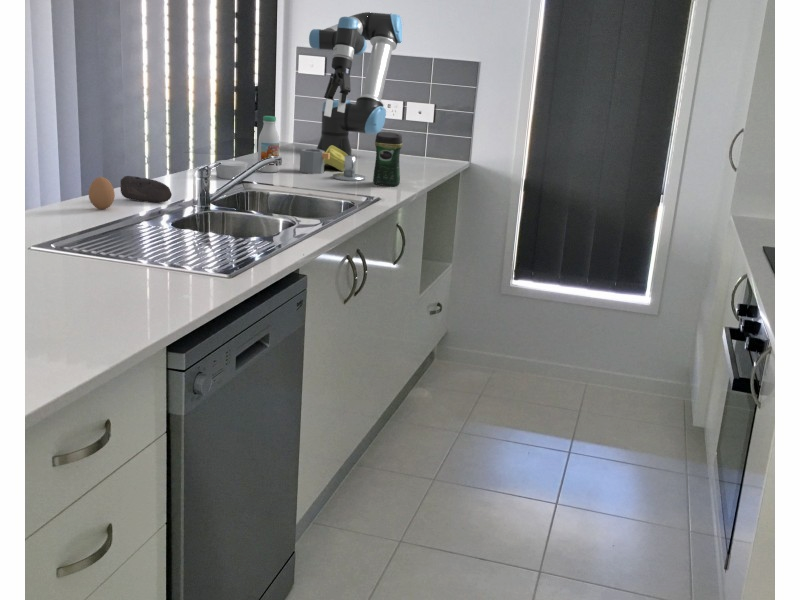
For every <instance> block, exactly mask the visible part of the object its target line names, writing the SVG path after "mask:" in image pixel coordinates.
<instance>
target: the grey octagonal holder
mask: <svg viewBox="0 0 800 600" xmlns="http://www.w3.org/2000/svg"><path fill="white" fill-rule="evenodd" d="M299 155H300V156H299V172H300V173H303V174H311V175H312V174H313V175H314V174H315V175H316V174H318V175H319V174H323V173H324V172H325V165H324V159H330V153H325V151H323V150H319V149H317V148H301V149H300V154H299Z"/></svg>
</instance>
